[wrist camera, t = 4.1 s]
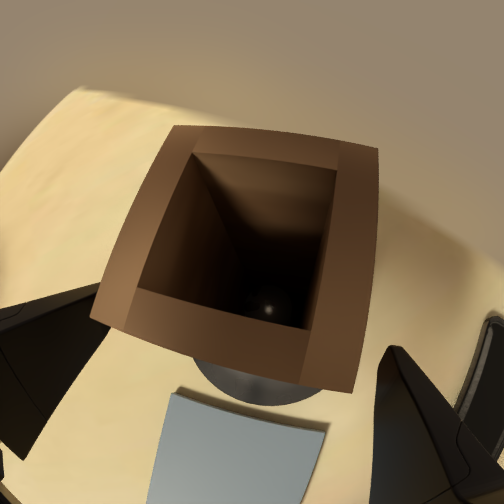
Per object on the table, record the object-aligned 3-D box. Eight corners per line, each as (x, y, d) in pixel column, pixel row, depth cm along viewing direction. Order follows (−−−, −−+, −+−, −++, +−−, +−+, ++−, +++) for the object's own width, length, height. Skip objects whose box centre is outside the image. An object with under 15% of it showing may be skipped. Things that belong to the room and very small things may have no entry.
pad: (281, 540, 11) (280, 544, 11) (149, 501, 13) (145, 504, 13) (324, 430, 15) (325, 433, 14) (174, 392, 17) (171, 393, 16)
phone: (405, 499, 11) (490, 311, 15) (400, 493, 12) (482, 314, 16) (469, 506, 9) (539, 343, 13) (463, 503, 10) (531, 344, 14)
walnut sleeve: (305, 371, 15) (352, 393, 4) (215, 349, 16) (89, 317, 5) (324, 282, 17) (378, 148, 6) (238, 265, 18) (173, 125, 7)
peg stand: (335, 417, 15) (348, 431, 11) (171, 376, 17) (143, 377, 13) (366, 257, 19) (382, 231, 15) (215, 228, 21) (200, 199, 17)
